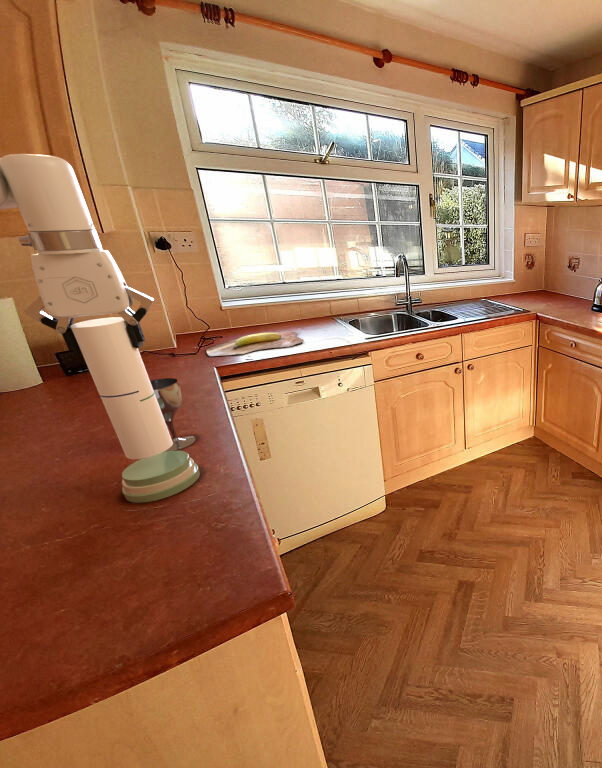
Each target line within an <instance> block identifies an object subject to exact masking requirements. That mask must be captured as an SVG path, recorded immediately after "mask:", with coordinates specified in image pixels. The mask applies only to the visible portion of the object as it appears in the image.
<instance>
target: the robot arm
mask: <svg viewBox="0 0 602 768" xmlns="http://www.w3.org/2000/svg"><path fill="white" fill-rule="evenodd" d="M84 197H85V196H84V194H83V192H82V189H81V187H80V184H79V182H78V179H77V175H76V173H75V170H74V168H73V167H72V165H71V163H69V162H68V161H67V160H66V159H64V158H61V157H58V156H54V155H46V154H36V153H35V154H34V153H13V154H11V153H10V154H6V155H4V156H2V157H0V210H9V209H16V208H17V209H18V210H19V213H20V216H21V217H22V220H23V222H24V224H25V227H26V228H27V229H26V230H27V231H28V232H26V234H27V235H25V236H19V237H18V241H19V243H20V245H21V246H22V247H31V248H33V250H34V251H36V253H33V254H32V253H31V254H30V261H31V266H32V267H31V268H32V271H33V276H34V279H35V283H36V286H37V289H38V292H39V295H40V296H38V297H37V298H36V299H35V300H34V301H33V302H32V303H30V305H29V306H28V307H26V308H25V309H24V314H26V315H27V316H29V317H30V318H32V319H34V320H36V321H38V322H40V323H41V324H42V325H45V326H46V327H49V328H50V329H52V330H55V331H56V332H57V333H58V334H61V335H62V338H63V340H64V343H65V345H66V348H67V349H68V350H69V351H72V352H73V355H74V356H75V357H79V356H81V355H83V354H82V352H81V350H80V347H79V345H78V343H77V340H76V338H75V336H74V333H73V331H72V329H71V325H72V324H74V322H75V319H76V318H80V317H82V318H83V317H92V316H93V317H94V316H102V315H111V314H113V315H114V314H117V315H118V316H119V317H122V318H123V319H124V320H125V321H126V322H127V323H128V326H127V327H126V328H127V331H128V334H129V336H130V339H131V342H132V344H133V347H134V348H138V349H140V348H141V347H142V346H143V344H144V343H143V342H146V339H145V335H144V331H143V329H142V327H141V324H140V323H141V321H142V319H143V318H144V317H145V316H146V315H147V314H148V312H149V311H150V309H151V307H152V306H153V304H154V302H155V299H154V298H153V297H151V296H149V295H147V294H145V293H143V292H140V291H138V290H136V289H134V288H132V287H130V286H128V285H127V283H126V280H125V278H124V275H123V273H122V271H121V270H120V268H119V266H118V264H117V262H116V261H115V259H114V257H113V256H112V254H111V252H110V251H109V250H108V249H103V246H102V244H101V240H100V238H99V235H98V232H97V230H96V227H95V225H94V222H93V220H92V217H91V214H90V211H89V208H88V205H87V203H86V200H85V198H84ZM133 300H136V301H138V302H140V305H139V307H138V308H137V310H136V311H134V310H133V309H131V308H130V307H132V306H133V305H134V301H133ZM44 309H45V310H46V312H47V313H46V312H44Z"/></svg>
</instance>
